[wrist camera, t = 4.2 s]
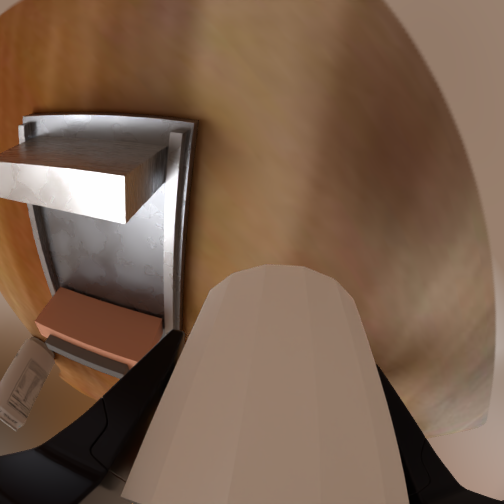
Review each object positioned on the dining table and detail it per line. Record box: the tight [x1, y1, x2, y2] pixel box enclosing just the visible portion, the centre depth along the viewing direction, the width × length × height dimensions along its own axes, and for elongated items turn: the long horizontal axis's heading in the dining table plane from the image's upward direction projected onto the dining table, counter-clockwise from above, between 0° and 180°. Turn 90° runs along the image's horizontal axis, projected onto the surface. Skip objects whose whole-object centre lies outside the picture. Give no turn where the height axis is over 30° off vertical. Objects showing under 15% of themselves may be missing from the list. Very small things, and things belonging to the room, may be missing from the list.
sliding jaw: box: [35, 287, 163, 379], centre depth 21 cm, size 11×2×6 cm, turn 79°
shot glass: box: [121, 264, 409, 504], centre depth 7 cm, size 7×7×7 cm
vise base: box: [0, 112, 199, 340], centre depth 18 cm, size 14×21×6 cm, turn 169°
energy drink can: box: [0, 337, 55, 431], centre depth 28 cm, size 6×6×15 cm
